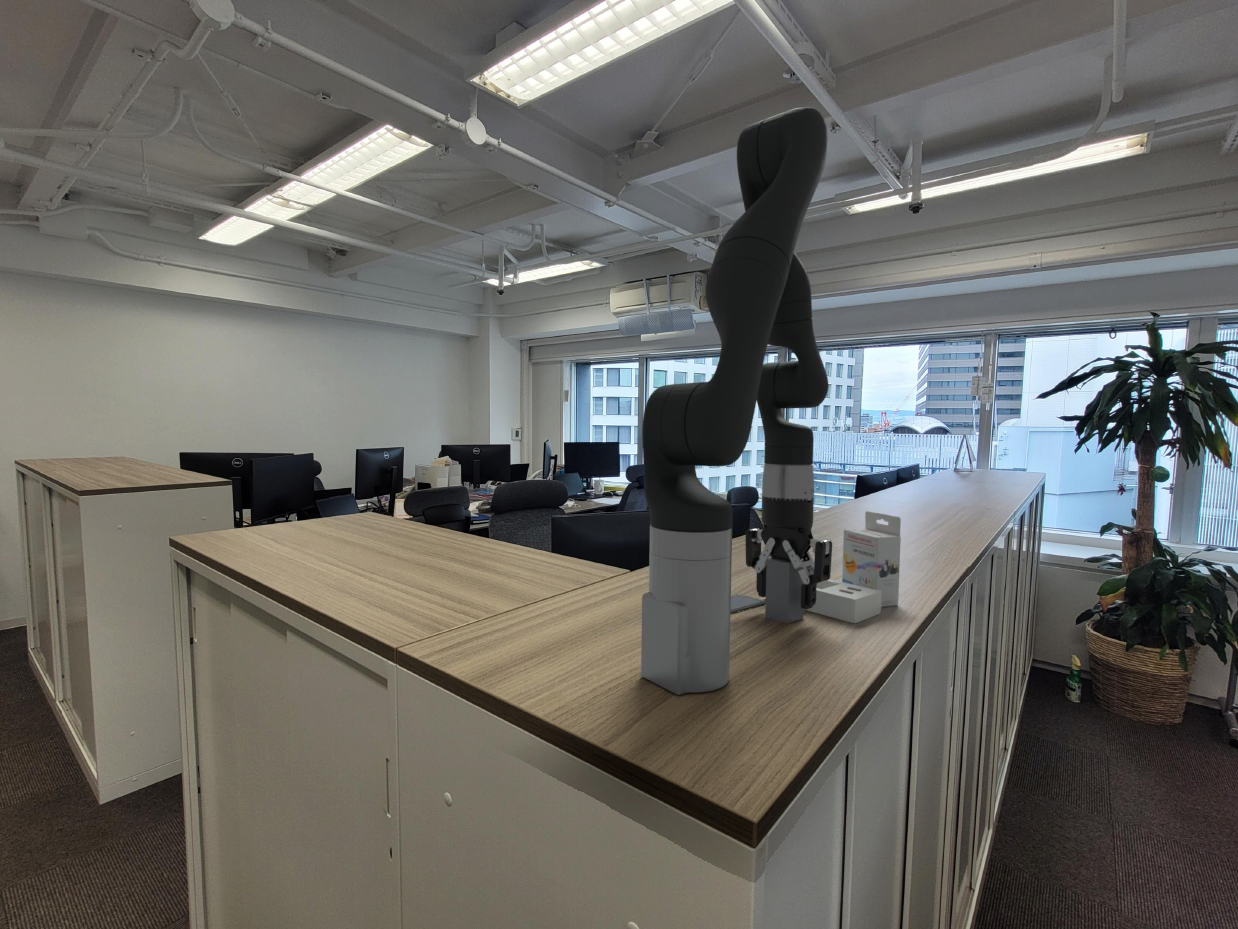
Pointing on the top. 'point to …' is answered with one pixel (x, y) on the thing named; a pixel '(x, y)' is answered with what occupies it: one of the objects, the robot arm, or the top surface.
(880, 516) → the ink box
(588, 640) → the top surface
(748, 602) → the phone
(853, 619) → the power strip
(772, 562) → the charger
